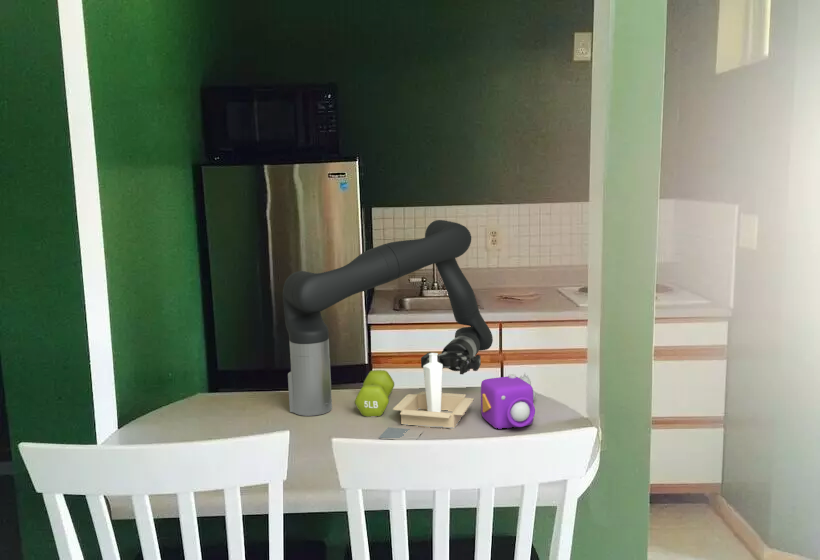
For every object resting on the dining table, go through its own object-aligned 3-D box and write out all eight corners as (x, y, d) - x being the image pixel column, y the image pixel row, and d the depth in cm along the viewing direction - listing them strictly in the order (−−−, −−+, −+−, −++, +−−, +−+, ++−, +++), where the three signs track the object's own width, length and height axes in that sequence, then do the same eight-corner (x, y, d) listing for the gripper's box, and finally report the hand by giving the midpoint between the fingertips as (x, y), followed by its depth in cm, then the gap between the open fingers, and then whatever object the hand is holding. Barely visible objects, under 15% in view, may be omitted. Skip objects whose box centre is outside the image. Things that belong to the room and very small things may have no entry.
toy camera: (508, 439, 147) (508, 393, 145) (473, 420, 159) (472, 377, 157) (549, 429, 152) (549, 384, 150) (512, 411, 164) (512, 370, 162)
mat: (379, 438, 149) (378, 437, 149) (388, 429, 155) (388, 427, 155) (415, 442, 147) (415, 440, 147) (423, 432, 152) (423, 430, 152)
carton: (389, 427, 156) (389, 412, 155) (411, 404, 171) (411, 390, 170) (460, 433, 151) (460, 417, 150) (476, 409, 166) (476, 395, 165)
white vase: (421, 420, 160) (420, 355, 157) (428, 414, 164) (427, 351, 161) (440, 422, 158) (439, 357, 156) (447, 416, 162) (446, 352, 160)
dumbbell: (388, 418, 162) (387, 388, 161) (353, 418, 163) (352, 388, 162) (396, 396, 178) (395, 368, 177) (364, 396, 179) (363, 368, 178)
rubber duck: (517, 408, 166) (516, 375, 165) (508, 400, 172) (508, 368, 171) (539, 406, 167) (539, 374, 165) (530, 398, 173) (530, 366, 172)
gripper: (432, 337, 185) (414, 352, 170) (486, 339, 181) (472, 355, 165) (433, 365, 186) (415, 382, 171) (486, 368, 182) (473, 386, 166)
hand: (443, 369), depth 168 cm, fingers open, 8 cm apart
